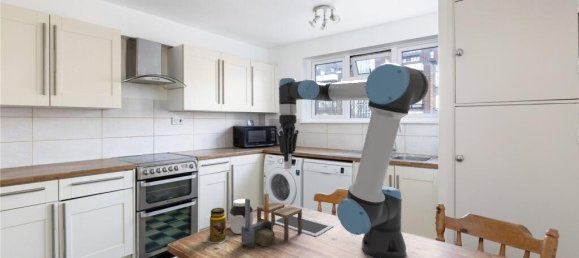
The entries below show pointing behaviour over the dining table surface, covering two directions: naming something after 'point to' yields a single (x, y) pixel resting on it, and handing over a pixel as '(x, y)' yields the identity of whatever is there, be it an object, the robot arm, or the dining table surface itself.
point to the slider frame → (248, 230)
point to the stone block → (264, 236)
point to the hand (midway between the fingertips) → (288, 168)
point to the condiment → (217, 226)
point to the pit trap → (305, 225)
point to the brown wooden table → (282, 215)
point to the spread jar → (239, 215)
